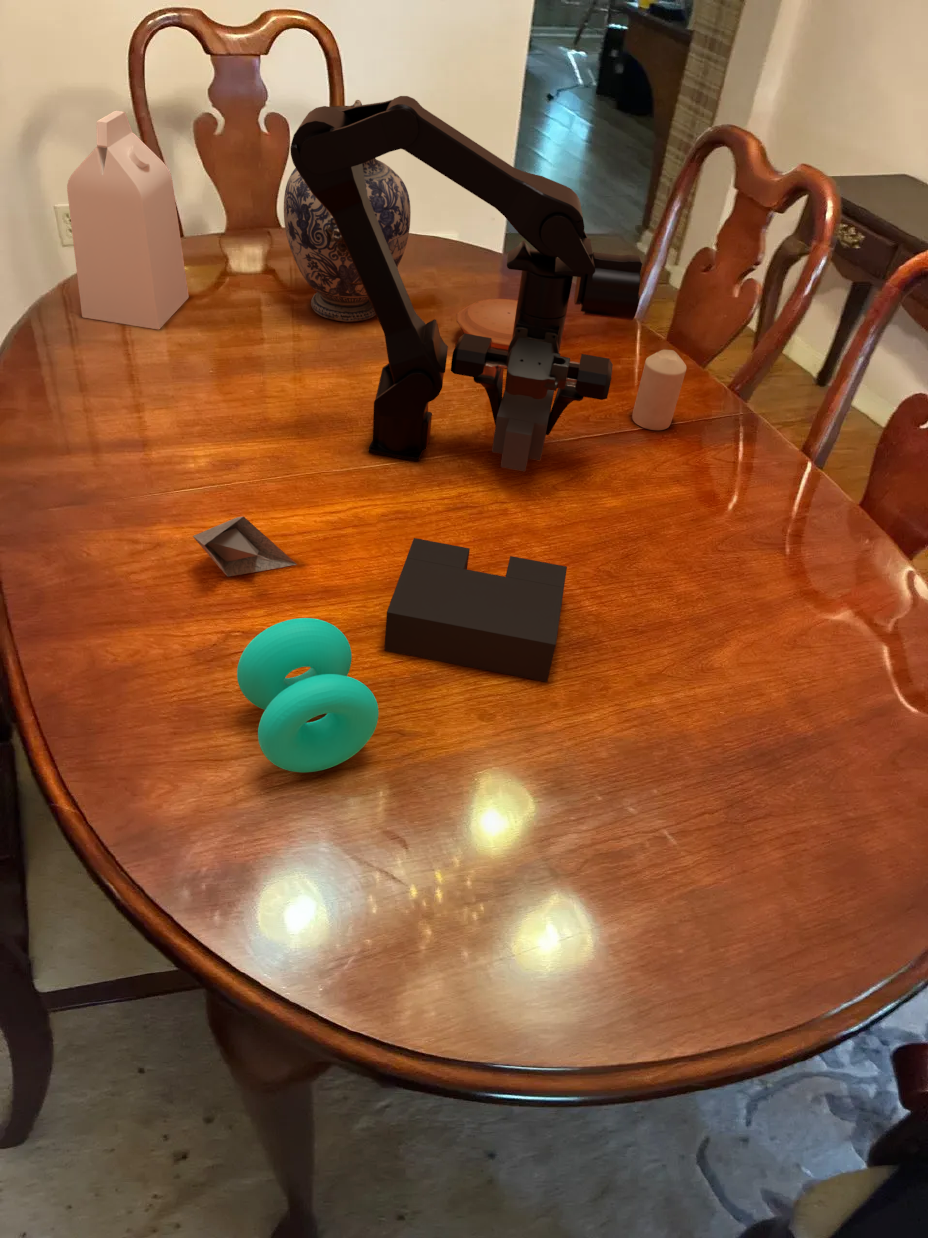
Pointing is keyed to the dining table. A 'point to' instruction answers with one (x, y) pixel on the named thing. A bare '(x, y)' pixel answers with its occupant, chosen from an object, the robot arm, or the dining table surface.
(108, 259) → the milk
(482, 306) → the pie
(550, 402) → the tongue pad
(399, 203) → the decorative vase
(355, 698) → the donuts
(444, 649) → the notch pad
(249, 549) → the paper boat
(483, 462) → the dining table surface
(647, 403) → the candle
